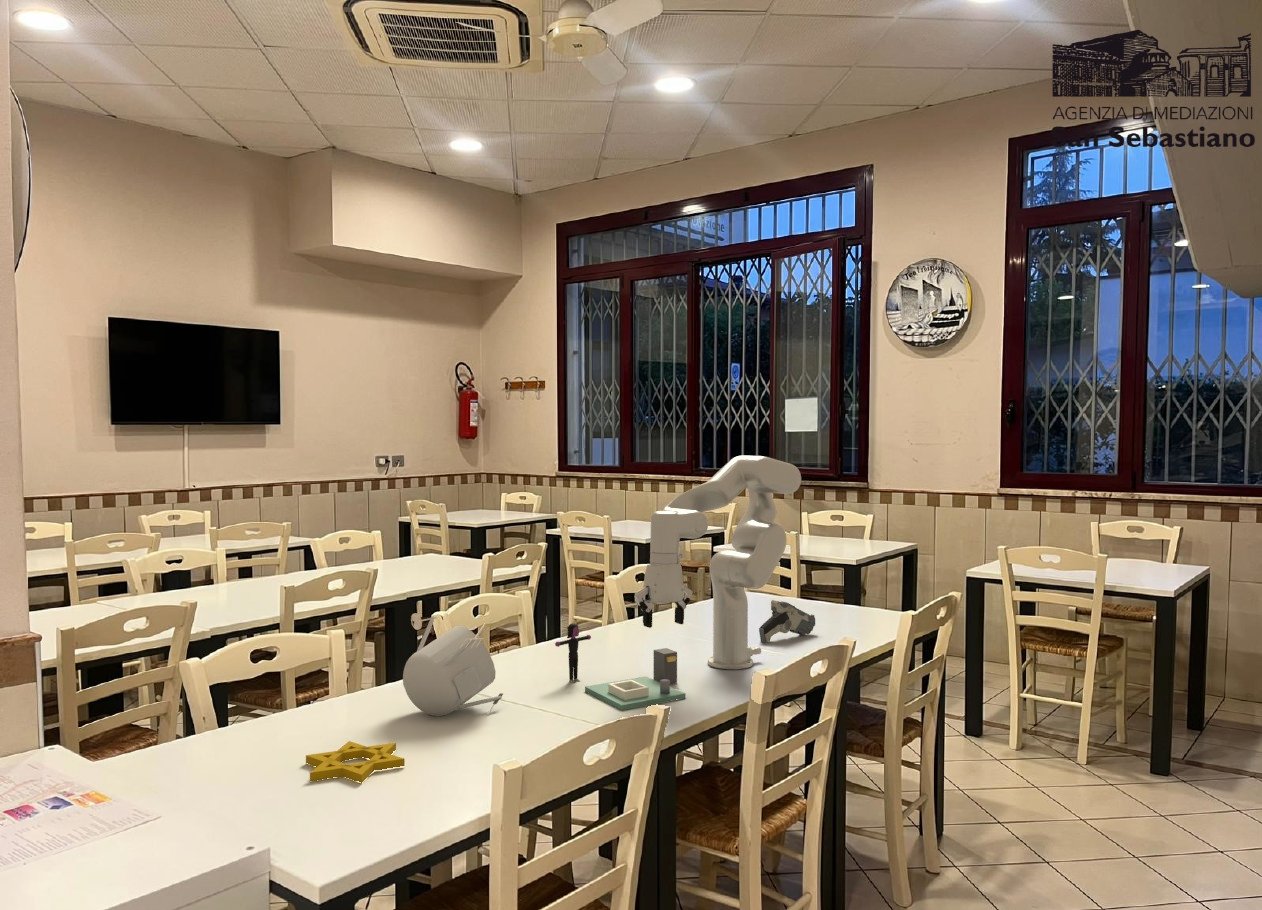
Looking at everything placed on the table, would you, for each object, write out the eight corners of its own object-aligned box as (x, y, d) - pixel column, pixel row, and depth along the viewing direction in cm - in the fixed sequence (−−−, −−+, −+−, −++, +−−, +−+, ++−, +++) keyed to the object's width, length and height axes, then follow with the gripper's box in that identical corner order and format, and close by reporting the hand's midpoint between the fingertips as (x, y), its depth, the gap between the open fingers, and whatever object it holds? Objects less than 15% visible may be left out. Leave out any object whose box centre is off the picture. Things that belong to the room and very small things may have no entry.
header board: (646, 680, 235) (646, 664, 235) (685, 698, 220) (685, 681, 220) (585, 691, 226) (584, 674, 226) (621, 710, 210) (621, 692, 210)
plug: (666, 678, 238) (666, 647, 238) (678, 683, 233) (678, 652, 233) (653, 680, 236) (653, 649, 236) (665, 685, 231) (665, 654, 231)
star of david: (419, 753, 183) (419, 742, 183) (387, 787, 166) (387, 775, 166) (325, 751, 185) (325, 740, 185) (284, 783, 168) (284, 771, 168)
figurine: (560, 686, 230) (560, 628, 229) (551, 683, 232) (550, 625, 232) (595, 677, 238) (595, 620, 238) (585, 674, 241) (585, 618, 241)
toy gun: (804, 662, 285) (819, 617, 289) (761, 641, 275) (777, 594, 278) (796, 659, 288) (811, 615, 292) (753, 638, 278) (769, 593, 281)
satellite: (368, 641, 207) (428, 669, 190) (437, 597, 220) (500, 620, 202) (399, 721, 215) (459, 755, 198) (464, 674, 228) (527, 703, 210)
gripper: (684, 555, 241) (682, 619, 242) (628, 558, 232) (627, 625, 233) (700, 559, 235) (699, 624, 235) (644, 562, 226) (642, 630, 226)
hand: (663, 625), depth 234 cm, fingers open, 9 cm apart
